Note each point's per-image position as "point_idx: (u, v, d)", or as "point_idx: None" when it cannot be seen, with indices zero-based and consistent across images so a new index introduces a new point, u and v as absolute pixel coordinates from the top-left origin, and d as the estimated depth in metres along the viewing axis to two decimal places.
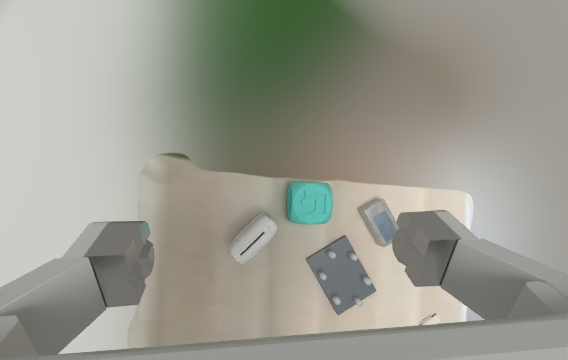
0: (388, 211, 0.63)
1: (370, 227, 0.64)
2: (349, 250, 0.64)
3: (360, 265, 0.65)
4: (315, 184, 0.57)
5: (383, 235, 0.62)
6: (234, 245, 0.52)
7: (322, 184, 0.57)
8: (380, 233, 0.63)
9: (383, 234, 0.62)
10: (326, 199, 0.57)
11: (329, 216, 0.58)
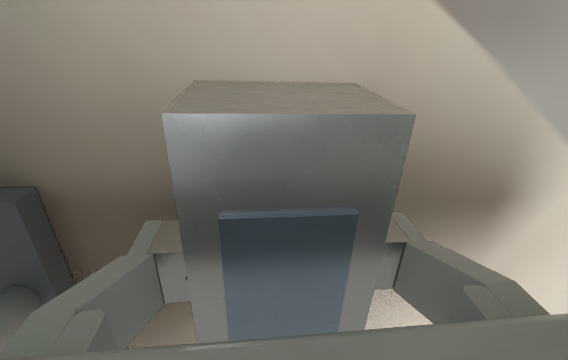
0: (374, 229, 0.07)
1: None
2: (21, 280, 0.10)
3: None
4: None
5: None
6: None
7: None
8: (221, 325, 0.08)
9: None
10: None
11: None
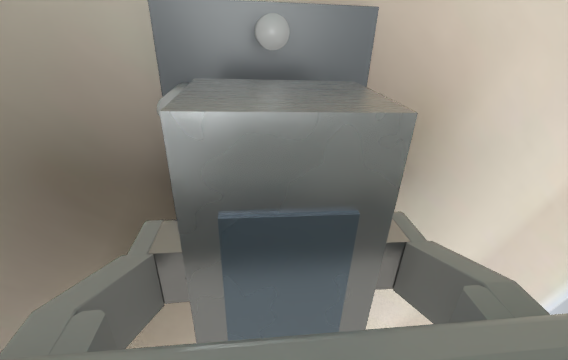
0: (375, 229, 0.07)
1: None
2: (350, 79, 0.15)
3: None
4: None
5: None
6: None
7: None
8: (220, 325, 0.08)
9: None
10: None
11: None
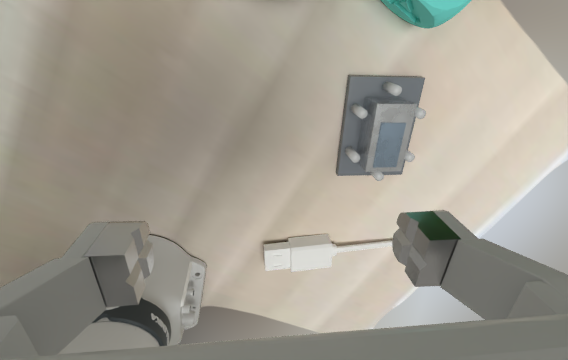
0: (408, 127, 0.37)
1: (365, 134, 0.39)
2: (413, 102, 0.40)
3: None
4: None
5: (376, 156, 0.38)
6: None
7: None
8: (374, 150, 0.38)
9: (377, 154, 0.38)
10: None
11: (454, 13, 0.29)
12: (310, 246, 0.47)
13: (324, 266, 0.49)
